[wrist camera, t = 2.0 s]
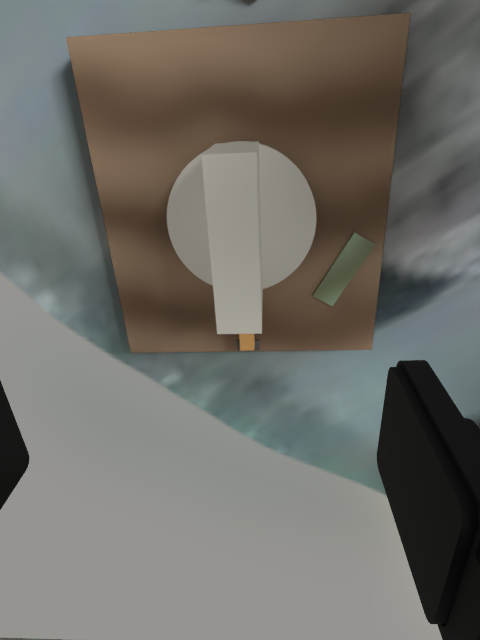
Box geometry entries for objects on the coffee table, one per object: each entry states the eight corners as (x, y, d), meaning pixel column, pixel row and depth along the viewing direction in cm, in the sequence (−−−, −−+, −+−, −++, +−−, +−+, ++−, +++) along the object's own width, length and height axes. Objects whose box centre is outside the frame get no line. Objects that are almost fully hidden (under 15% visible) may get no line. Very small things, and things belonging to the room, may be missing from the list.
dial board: (84, 43, 24) (64, 36, 22) (396, 21, 23) (411, 12, 21) (139, 336, 34) (130, 354, 31) (364, 332, 32) (372, 351, 30)
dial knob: (160, 144, 24) (127, 158, 18) (317, 137, 23) (333, 148, 17) (186, 344, 30) (167, 400, 24) (310, 342, 30) (321, 400, 24)
